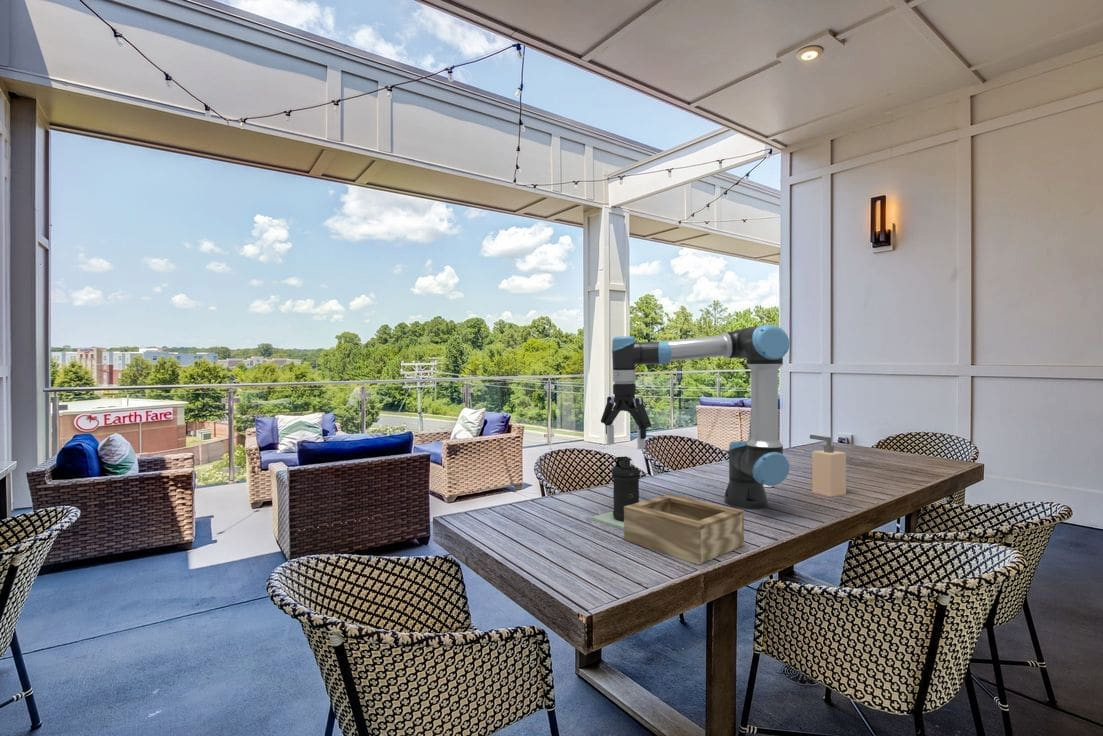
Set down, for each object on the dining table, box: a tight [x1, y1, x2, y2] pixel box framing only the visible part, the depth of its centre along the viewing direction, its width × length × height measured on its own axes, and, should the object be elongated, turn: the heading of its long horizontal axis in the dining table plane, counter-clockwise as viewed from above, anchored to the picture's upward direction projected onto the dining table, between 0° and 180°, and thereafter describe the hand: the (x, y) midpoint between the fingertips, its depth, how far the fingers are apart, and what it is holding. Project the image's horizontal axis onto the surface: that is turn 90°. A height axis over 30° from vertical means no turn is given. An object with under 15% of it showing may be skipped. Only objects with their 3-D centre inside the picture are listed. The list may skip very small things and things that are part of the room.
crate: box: [623, 493, 745, 565], centre depth 156 cm, size 22×26×10 cm
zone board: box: [591, 511, 624, 531], centre depth 179 cm, size 16×16×1 cm
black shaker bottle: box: [611, 456, 641, 521], centre depth 179 cm, size 9×11×20 cm
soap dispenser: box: [809, 434, 847, 498], centre depth 213 cm, size 13×9×22 cm
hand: (625, 446), depth 179 cm, fingers open, 13 cm apart
